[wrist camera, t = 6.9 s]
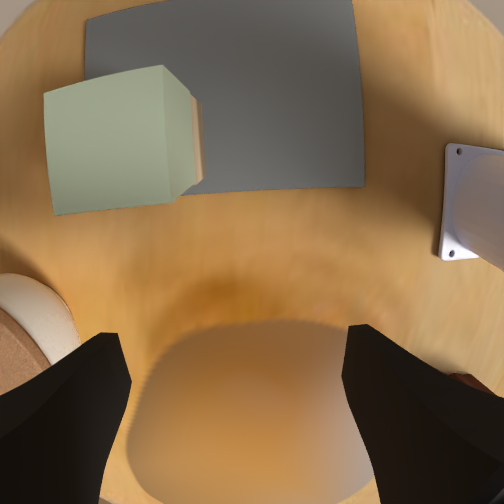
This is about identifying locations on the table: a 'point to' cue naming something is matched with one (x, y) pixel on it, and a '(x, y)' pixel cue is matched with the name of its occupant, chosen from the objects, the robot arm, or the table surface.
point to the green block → (119, 141)
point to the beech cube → (198, 140)
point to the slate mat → (252, 84)
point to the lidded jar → (31, 329)
